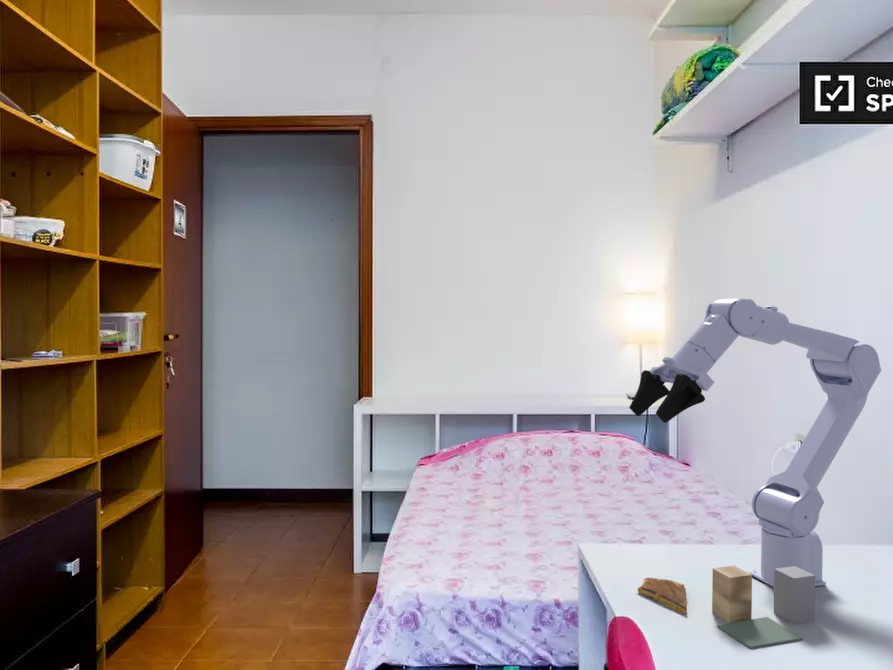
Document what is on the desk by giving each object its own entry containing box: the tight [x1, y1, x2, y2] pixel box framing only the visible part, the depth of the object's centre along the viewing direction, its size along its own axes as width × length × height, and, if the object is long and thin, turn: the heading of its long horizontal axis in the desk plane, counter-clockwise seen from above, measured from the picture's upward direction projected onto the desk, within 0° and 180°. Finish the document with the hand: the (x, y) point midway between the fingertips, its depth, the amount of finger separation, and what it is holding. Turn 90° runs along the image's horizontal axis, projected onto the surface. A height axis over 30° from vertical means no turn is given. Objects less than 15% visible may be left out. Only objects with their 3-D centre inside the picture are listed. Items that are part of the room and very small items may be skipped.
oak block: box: [711, 565, 753, 623], centre depth 108 cm, size 4×4×7 cm
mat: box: [717, 616, 804, 649], centre depth 102 cm, size 9×7×1 cm
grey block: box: [773, 566, 816, 625], centre depth 107 cm, size 4×4×7 cm
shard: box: [637, 577, 688, 615], centre depth 114 cm, size 11×8×2 cm
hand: (646, 415), depth 112 cm, fingers open, 7 cm apart
